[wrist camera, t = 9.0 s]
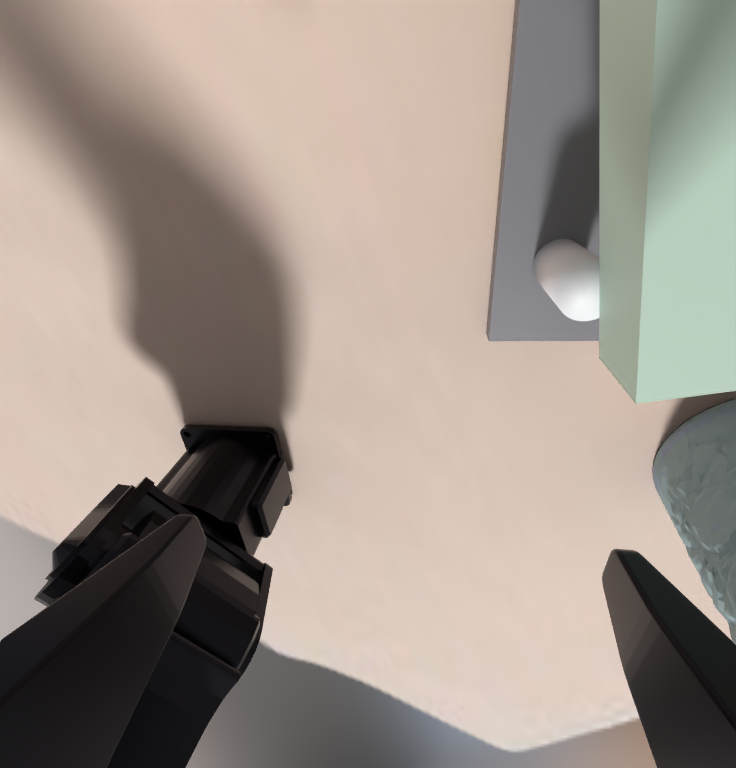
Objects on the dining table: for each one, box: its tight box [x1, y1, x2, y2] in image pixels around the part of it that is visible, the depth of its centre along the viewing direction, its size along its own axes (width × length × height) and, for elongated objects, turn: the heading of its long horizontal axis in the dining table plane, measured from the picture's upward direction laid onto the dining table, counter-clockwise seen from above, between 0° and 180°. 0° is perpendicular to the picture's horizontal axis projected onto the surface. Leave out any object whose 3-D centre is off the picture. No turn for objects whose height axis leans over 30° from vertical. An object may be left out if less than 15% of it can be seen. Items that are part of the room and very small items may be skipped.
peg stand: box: [486, 0, 600, 341], centre depth 11 cm, size 9×21×5 cm, turn 4°
